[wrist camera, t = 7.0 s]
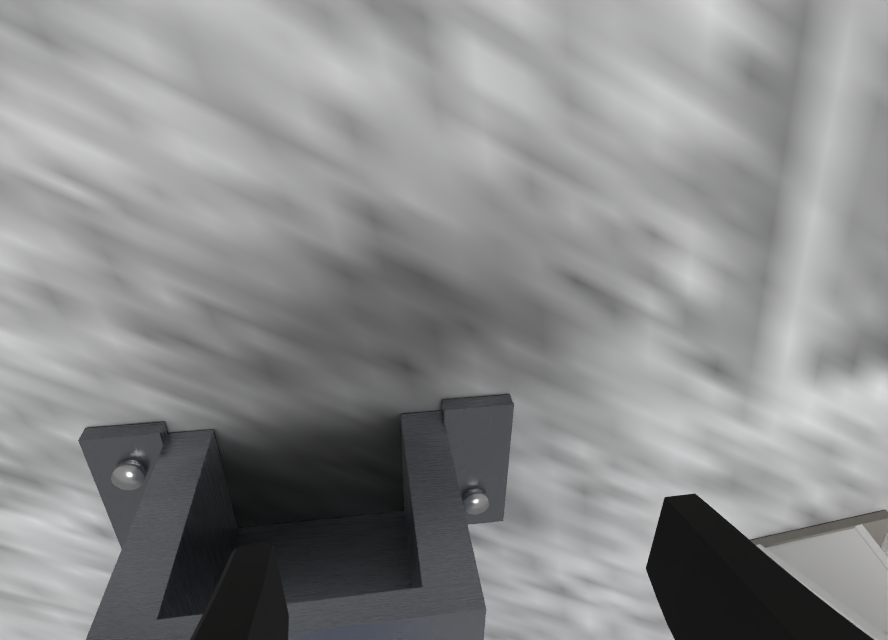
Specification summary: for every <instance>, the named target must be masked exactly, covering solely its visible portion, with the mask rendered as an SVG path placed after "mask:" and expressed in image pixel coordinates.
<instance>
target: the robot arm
mask: <svg viewBox="0 0 888 640" xmlns="http://www.w3.org/2000/svg"><path fill="white" fill-rule="evenodd" d="M646 570H647V573H648V576H649V578H650V581H651V584H652V586H653V589H654V592H655V595H656V597H657V600H658V602H659V605H660V607H661V610H662V612H663V615H664V617H665V620H666V622H667V625H668V627H669V629H670V631H671V633H672V635H673V637H674V639H675V640H874V639H873V638H871V637H870V636H869V635H867V634H866V633H865V632H863V631H862V630H861V629H859V628H858V627H857V626H855V625H854V624H853V623H851V622H850V621H849V620H847V619H846V618H845V617H843V616H842V615H841V614H839V613H838V612H837V611H836V610H834V609H833V608H832V607H830V606H829V605H828V604H827V603H825V602H824V601H823V600H822V599H820V598H819V597H818V596H816V595H815V594H814V593H813V592H812V591H810V590H809V589H808V588H807V587H805V586H804V585H803V584H802V583H800V582H799V581H798V580H797V579H795V578H794V577H793V576H792V575H791V574H789V573H788V572H787V571H786V570H785V569H783V568H782V567H781V566H780V565H779V564H777V563H776V562H775V561H774V560H773V559H771V558H770V557H769V556H768V555H767V554H765V553H764V552H763V551H762V550H761V549H760V548H758V547H757V546H756V545H755V544H754V543H752V542H751V541H750V540H749V539H748V538H747V537H745V536H744V535H743V534H742V533H741V532H740V531H738V530H737V529H736V528H735V527H734V526H733V525H731V524H730V523H729V522H728V521H727V520H726V519H724V518H723V517H722V516H721V515H720V514H719V513H717V512H716V511H715V510H714V509H713V508H712V507H710V506H709V505H708V504H707V503H706V502H704V501H703V500H702V499H701V498H700V497H698V496H697V495H696V494H688V495H679V496H671V497H665V498H664V502H663V506H662V510H661V513H660V517H659V521H658V525H657V528H656V532H655V536H654V540H653V543H652V547H651V551H650V555H649V559H648V562H647V566H646ZM288 630H289V614H288V609H287V604H286V600H285V595H284V591H283V586H282V582H281V577H280V573H279V568H278V563H277V559H276V554H275V550H274V545H273V543H272V544H264V545H255V546H247V547H238V548H236V549H235V550H234V551H233V552H232V553H231V555H230V557H229V560H228V562H227V564H226V567H225V569H224V571H223V573H222V575H221V578H220V580H219V582H218V584H217V586H216V589H215V591H214V593H213V595H212V597H211V599H210V601H209V603H208V605H207V607H206V609H205V611H204V613H203V615H202V617H201V619H200V621H199V623H198V625H197V627H196V629H195V631H194V633H193V635H192V637H191V638H190V640H288Z"/></svg>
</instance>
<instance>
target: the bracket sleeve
mask: <svg viewBox="0 0 888 640" xmlns="http://www.w3.org/2000/svg"><path fill="white" fill-rule="evenodd" d="M513 408H514V404H513V401H512V399H511V396H510V394H508V395H496V396H483V397H471V398H458V399H446V400H442V411H432V412H420V413H408V414H401V434H402V466H403V498H404V511H398V512H388V513H378V514H369V515H359V516H350V517H340V518H330V519H321V520H311V521H302V522H292V523H282V524H273V525H263V526H254V527H244V528H237V524H236V520H235V516H234V512H233V508H232V504H231V500H230V496H229V492H228V487H227V483H226V479H225V475H224V471H223V467H222V463H221V459H220V455H219V450H218V446H217V442H216V438H215V434H214V430H201V431H189V432H177V433H168V432H167V429H166V425H165V422H157V423H145V424H132V425H120V426H107V427H95V428H85V430H84V432H83V433H82V435H81V437H80V438H79V440H78V441H79V443H80V446H81V448H82V451H83V453H84V456H85V458H86V461H87V463H88V466H89V468H90V471H91V473H92V476H93V478H94V481H95V483H96V486H97V488H98V491H99V493H100V496H101V498H102V501H103V503H104V506H105V508H106V511H107V513H108V516H109V518H110V521H111V523H112V526H113V528H114V531H115V533H116V536H117V538H118V541H119V543H120V546H121V548H122V550H121V553H120V555H119V558H118V560H117V563H116V565H115V568H114V570H113V573H112V575H111V578H110V580H109V583H108V585H107V588H106V590H105V593H104V595H103V598H102V601H101V603H100V606H99V608H98V611H97V613H96V616H95V618H94V621H93V623H92V626H91V628H90V631H89V633H88V636H87V638H86V640H190V638H191V637H192V635H193V633H194V631H195V629H196V627H197V625H198V623H199V621H200V619H201V617H202V615H203V613H204V611H205V609H206V607H207V605H208V603H209V601H210V599H211V597H212V595H213V593H214V591H215V589H216V586H217V584H218V582H219V580H220V578H221V575H222V573H223V571H224V569H225V567H226V564H227V562H228V560H229V557H230V555H231V553H232V552H233V551H234V550H235V549H236V548H238V547H247V546H255V545H264V544H272V543H273V545H274V550H275V554H276V559H277V563H278V568H279V573H280V577H281V582H282V586H283V591H284V595H285V600H286V604H287V609H288V614H289V630H288V640H484V627H485V615H486V606H485V602H484V597H483V593H482V588H481V584H480V579H479V575H478V570H477V566H476V561H475V557H474V552H473V548H472V543H471V539H470V534H469V530H468V524H477V523H486V522H495V521H503V516H504V505H505V494H506V484H507V473H508V462H509V451H510V441H511V430H512V419H513Z"/></svg>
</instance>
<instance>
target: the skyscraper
mask: <svg viewBox="0 0 888 640" xmlns="http://www.w3.org/2000/svg"><path fill="white" fill-rule="evenodd" d="M887 531H888V512H887V511H886V510H884V511H879V512H875V513H870V514H866V515H861V516H857V517H852V518H848V519H843V520H839V521H834V522H830V523H826V524H821V525H817V526H812V527H808V528H803V529H799V530H794V531H790V532H785V533H781V534H776V535H772V536H767V537H763V538H758V539H754V540H750V541H751V542H752V543H754V544H755V545H756V546H757V547H758V548H760V549H761V550H762V551H763V552H764V553H765V554H767V555H768V556H769V557H770V558H771V559H773V560H774V561H775V562H776V563H777V564H779V565H780V566H781V567H782V568H783V569H785V570H786V571H787V572H788V573H789V574H791V575H792V576H793V577H794V578H795V579H797V580H798V581H799V582H800V583H802V584H803V585H804V586H805V587H807V588H808V589H809V590H810V591H812V592H813V593H814V594H815V595H816V596H818V597H819V598H820V599H822V600H823V601H824V602H825V603H827V604H828V605H829V606H830V607H832V608H833V609H834V610H836V611H837V612H838V613H839V614H841V615H842V616H843V617H845V618H846V619H847V620H849V621H850V622H851V623H853V624H854V625H855V626H857V627H858V628H859V629H861V630H862V631H863V632H865V633H866V634H867V635H869V636H870V637H871V638H873V639H874V640H888V557H887V555H886V554H885V553H884V552H883V550H882V549H881V547H882V544H883V542H884V539H885V536H886V534H887Z"/></svg>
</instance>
